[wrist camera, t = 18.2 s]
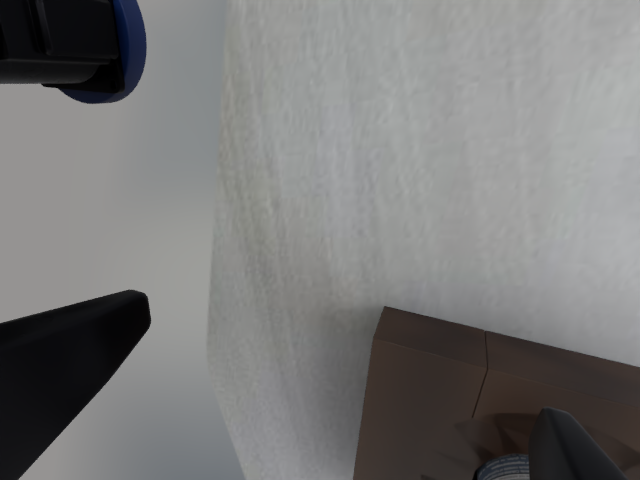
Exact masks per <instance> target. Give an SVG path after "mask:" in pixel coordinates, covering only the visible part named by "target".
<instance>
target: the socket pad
mask: <svg viewBox="0 0 640 480" xmlns="http://www.w3.org/2000/svg"><path fill="white" fill-rule="evenodd" d="M547 406H548V407H552V408H556V409H559V410H563V411H566V412H568V413H570V414H571V415H572V416H573V417H574V418H575V419H576V420H577V421H578V423H579V424H580V425H581V426H582V427H583V428H584V429H585V430H586V432H587V433H588V434H589V435H590V436H591V437H592V438H593V439H594V441H595V442H596V443H597V444H598V445H599V446H600V447H601V448H602V450H603V451H604V452H605V453H606V454H607V455H608V456H609V458H610V459H611V460H612V461H613V462H614V463H615V464H616V465H617V467H618V468H619V469H620V470H621V471H622V472H623V473H624V474H625V476H626V477H627V478H628V479H629V480H640V367H635V366H631V365H627V364H623V363H619V362H614V361H610V360H606V359H602V358H598V357H594V356H589V355H585V354H581V353H577V352H573V351H568V350H564V349H560V348H556V347H552V346H547V345H543V344H539V343H535V342H531V341H527V340H522V339H518V338H514V337H510V336H506V335H501V334H497V333H493V332H489V331H485V332H484V330H482V329H478V328H474V327H470V326H465V325H461V324H457V323H453V322H449V321H444V320H440V319H436V318H432V317H428V316H423V315H419V314H415V313H411V312H407V311H403V310H398V309H394V308H390V307H386V306H385V307H384V309H383V312H382V314H381V317H380V320H379V323H378V326H377V329H376V331H375V334H374V337H373V342H372V349H371V356H370V363H369V370H368V377H367V384H366V391H365V398H364V405H363V412H362V419H361V426H360V433H359V440H358V447H357V454H356V462H355V469H354V476H353V480H477V469H478V468H479V467H481V466H482V465H483V464H484V463H486V462H487V461H488V460H490V459H493V458H497V457H501V456H505V455H509V454H528V441H529V436H530V434H531V431H532V429H533V427H534V424H535V422H536V420H537V418H538V415H539V413H540V411H541V410H542V408H543V407H547Z"/></svg>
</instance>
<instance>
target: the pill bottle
mask: <svg viewBox="0 0 640 480" xmlns="http://www.w3.org/2000/svg"><path fill="white" fill-rule="evenodd" d="M477 480H530V479H529V459H528V454H509V455H505V456H501V457H497V458H493V459H490V460H488V461H487V462H486V463H484V464H483V465H482V466H481V467H479V468H478V469H477Z"/></svg>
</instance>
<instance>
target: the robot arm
mask: <svg viewBox="0 0 640 480" xmlns="http://www.w3.org/2000/svg"><path fill="white" fill-rule="evenodd" d="M115 82H116V86H115ZM28 83H29V84H38V83H40V84H41V85H42V86H44V87H50V88H60V89H70V90H81V91H91V92H102V93H112V94H120V93H123V92H124V90H125V80H124V73H123V66H122V60H121V53H120V46H119V39H118V32H117V25H116V18H115V12H114V5H113V0H0V84H28ZM150 324H151V316H150V309H149V303H148V297H147V296H146V294H144V293H142V292H138V291H135V290H126V291H122V292H118V293H114V294H110V295H107V296H103V297H99V298H95V299H92V300H88V301H84V302H80V303H76V304H72V305H69V306H65V307H61V308H57V309H53V310H49V311H45V312H42V313H38V314H34V315H30V316H26V317H22V318H18V319H15V320H11V321H7V322H3V323H0V480H18V479H19V478H20V477H21V476H22V475H23V474H24V473H25V472H26V470H28V468H29V467H30V466H31V465H32V464H33V463H34V462H35V461H36V460H37V459H38V458H39V456H40V455H41V454H42V453H43V452H44V451H45V450H46V449H47V447H49V445H50V444H51V443H52V442H53V441H54V440H55V439H56V438H57V437H58V436H59V435H60V434H61V432H62V431H63V430H64V429H65V428H66V427H67V426H68V425H69V424H70V423H71V422H72V420H73V419H74V418H75V417H76V416H77V415H78V414H79V413H80V412H81V411H82V409H83V408H84V407H85V406H86V405H87V404H88V403H89V402H90V401H91V400H92V399H93V397H94V396H95V395H96V394H97V393H98V392H99V391H100V390H101V389H102V387H103V386H104V385H105V384H106V383H107V382H108V381H109V380H110V378H111V377H112V376H113V375H114V373H115V372H116V371H117V370H118V368H119V367H120V365H121V364H122V363H123V362H124V360H125V359H126V358H127V356H128V355H129V354H130V353H131V351H132V350H133V349H134V347H135V346H136V345H137V343H138V342H139V341H140V339H141V338H142V337H143V336H144V334H145V333H146V332H147V330H148V329H149V327H150ZM528 459H529V479H530V480H629V479H628V478H627V477H626V476H625V474H624V473H623V472H622V471H621V470H620V469H619V468H618V467H617V465H616V464H615V463H614V462H613V461H612V460H611V459H610V458H609V456H608V455H607V454H606V453H605V452H604V451H603V450H602V448H601V447H600V446H599V445H598V444H597V443H596V442H595V441H594V439H593V438H592V437H591V436H590V435H589V434H588V433H587V432H586V430H585V429H584V428H583V427H582V426H581V425H580V424H579V423H578V421H577V420H576V419H575V418H574V417H573V416H572V415H571V414H570V413H568V412H566V411H563V410H559V409H556V408H552V407H548V406H547V407H543V408H542V410H541V411H540V413H539V415H538V418H537V420H536V422H535V424H534V427H533V429H532V431H531V434H530V436H529V441H528Z"/></svg>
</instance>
